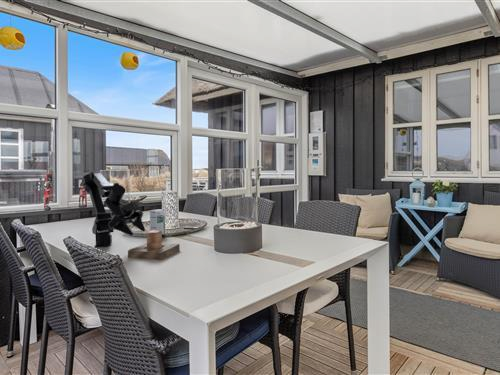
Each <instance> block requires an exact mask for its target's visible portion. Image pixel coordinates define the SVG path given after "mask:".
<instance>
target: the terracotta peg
mask: <svg viewBox="0 0 500 375" xmlns="http://www.w3.org/2000/svg"><path fill="white" fill-rule="evenodd" d="M162 238H163V236H162V231H157V230H152V231H150V230H149V231H146V243H147V249H155V250H158V249H160V248H162V243H163V239H162Z"/></svg>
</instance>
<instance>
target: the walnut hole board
mask: <svg viewBox="0 0 500 375" xmlns="http://www.w3.org/2000/svg"><path fill="white" fill-rule="evenodd" d="M180 250H181V248H180V243H171V242H169V243H168V242H162V248H160V249H158V250H155V249H147V242H145V243H143V244H140V245H138V246H135V247H133V248H130V249H128V250H127V258H133V259H134V258H135V259H142V260H143V259H144V260H157V261H158V260H159V261H162V260H163V259H164V260H165V259H166V258H168V257H170V256H171V255H174V254H176V253H177V252H179V251H180Z"/></svg>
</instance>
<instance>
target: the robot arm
mask: <svg viewBox="0 0 500 375" xmlns="http://www.w3.org/2000/svg"><path fill="white" fill-rule="evenodd" d="M81 185H82V187H83V190H84V191H86V192H87V193H89V197H90V200H91V203H92V207H93V211H94V213H95V219H94V221H93V225H92V228H91V230H92V231H91V232H92V234H94V235H95V245H94V247H95V248H97V247H110V245H111V246H112V244H113V237H112V234H111V233H114V230H117V231H119V232H122V233H124V234H127V235H129V236H131V237H132V236H133V235H134V233H133V231H132V230H131V228H130V227H129V225H128V224H127V222H128V221H129V222H130V223H131V225H132V226H134V227H136V229H137V228H138V229H139V230H140V231H141V232H145V231H146V228H145V226H144V223H143V219H142V218H143V216H144V212H143V211H142V210H139V208H140V202H138V201H137V200H135V199H134V200H133V201H131V202H129V203H125V204H123V202H121V201H122V199H123V197H124V195H125V193H126V188H125V187H124V186H123V185H121V184H120V183H119V182H114V183H112V182H110V181H109V180H107V179H106V178H105V176H104V175H103V173H102V172H101V171H98V170H97V171H90V172H89V173H87V174H86V175H83V177H82V178H81ZM102 198H106V199H105V200H103V199H102ZM106 208H108V209H109V211H110V212H111V213H110V212H106ZM137 209H138V210H137ZM112 216H113V217H112Z"/></svg>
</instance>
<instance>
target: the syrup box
mask: <svg viewBox="0 0 500 375" xmlns="http://www.w3.org/2000/svg"><path fill="white" fill-rule="evenodd" d="M149 224H150V227H149V228H150V230H149V231H152V230H157V231H162V233H165V234H166V222H165V209H161V208H160V209H159V208H158V209H151V210H149Z"/></svg>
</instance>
